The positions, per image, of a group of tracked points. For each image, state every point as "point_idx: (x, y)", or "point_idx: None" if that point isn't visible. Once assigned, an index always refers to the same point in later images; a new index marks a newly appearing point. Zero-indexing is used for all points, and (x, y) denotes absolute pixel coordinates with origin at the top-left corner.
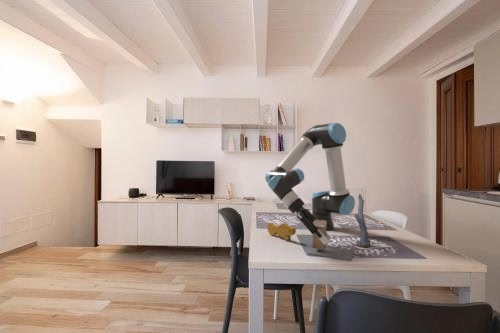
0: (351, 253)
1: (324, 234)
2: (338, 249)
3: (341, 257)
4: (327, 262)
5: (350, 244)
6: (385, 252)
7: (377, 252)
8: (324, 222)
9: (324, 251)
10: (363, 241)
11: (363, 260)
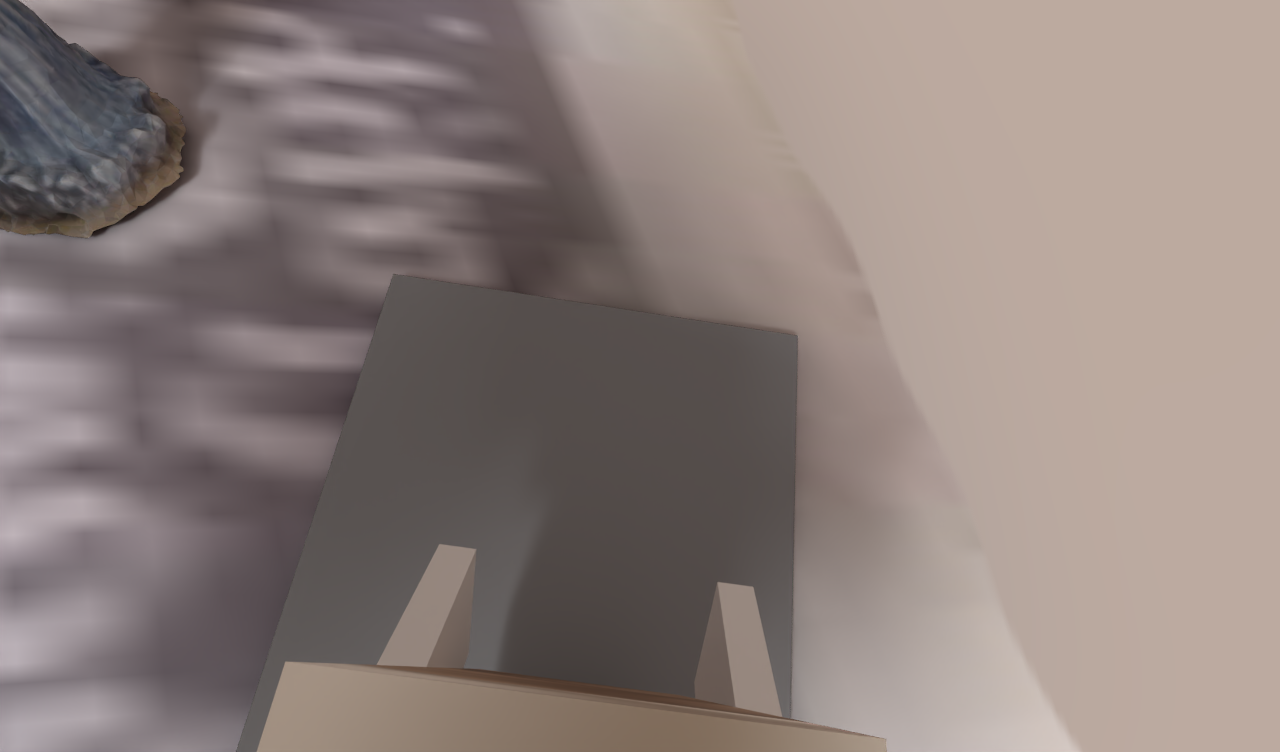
0: (558, 313)
1: (687, 700)
2: (412, 472)
3: (775, 433)
4: (988, 608)
5: (24, 308)
6: (357, 11)
7: (375, 72)
8: (814, 731)
9: None
10: (88, 113)
11: (716, 223)
